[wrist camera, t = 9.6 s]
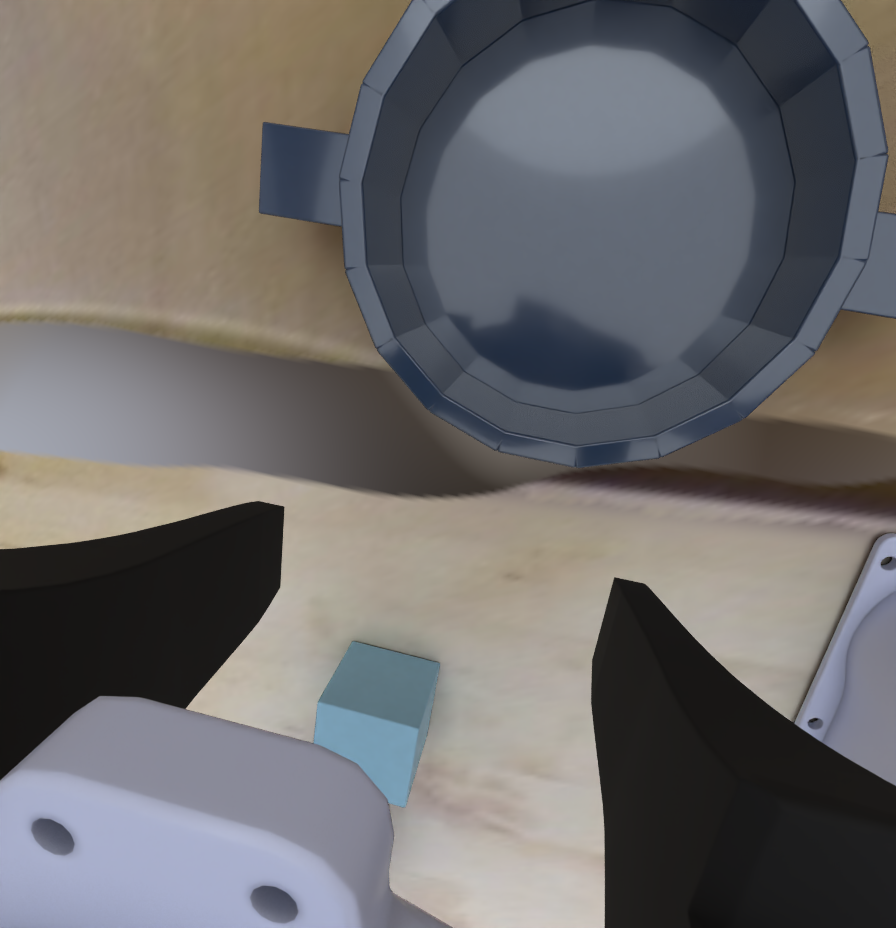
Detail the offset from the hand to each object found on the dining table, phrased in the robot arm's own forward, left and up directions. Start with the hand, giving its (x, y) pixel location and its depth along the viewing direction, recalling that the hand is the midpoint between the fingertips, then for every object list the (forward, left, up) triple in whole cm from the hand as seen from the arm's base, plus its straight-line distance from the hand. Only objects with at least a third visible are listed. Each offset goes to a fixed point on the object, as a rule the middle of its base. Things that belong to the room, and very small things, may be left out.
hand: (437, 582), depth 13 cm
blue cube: (-12, +2, -10) cm, 16 cm away
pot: (+8, -2, -10) cm, 13 cm away
